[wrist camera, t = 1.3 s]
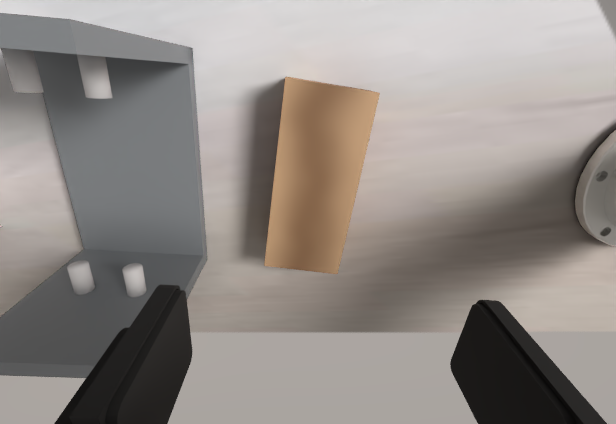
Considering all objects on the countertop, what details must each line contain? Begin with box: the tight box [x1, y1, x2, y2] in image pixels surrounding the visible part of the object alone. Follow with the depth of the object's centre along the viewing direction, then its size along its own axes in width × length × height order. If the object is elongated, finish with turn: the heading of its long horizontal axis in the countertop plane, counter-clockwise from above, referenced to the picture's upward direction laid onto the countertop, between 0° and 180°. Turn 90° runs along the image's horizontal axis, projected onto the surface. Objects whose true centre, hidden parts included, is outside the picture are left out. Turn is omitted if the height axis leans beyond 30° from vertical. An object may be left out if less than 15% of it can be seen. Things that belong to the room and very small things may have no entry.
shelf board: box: [264, 77, 380, 274], centre depth 23 cm, size 6×14×4 cm, turn 171°
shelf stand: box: [0, 13, 207, 378], centre depth 18 cm, size 10×17×12 cm, turn 176°
